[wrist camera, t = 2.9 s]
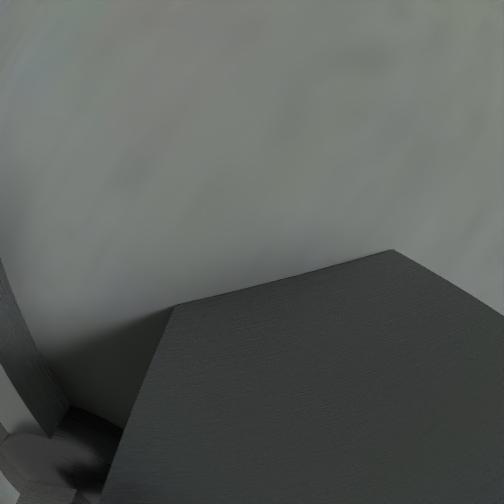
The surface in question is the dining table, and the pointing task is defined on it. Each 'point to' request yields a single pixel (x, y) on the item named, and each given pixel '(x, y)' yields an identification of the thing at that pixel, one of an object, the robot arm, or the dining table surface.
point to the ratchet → (46, 423)
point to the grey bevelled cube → (322, 395)
